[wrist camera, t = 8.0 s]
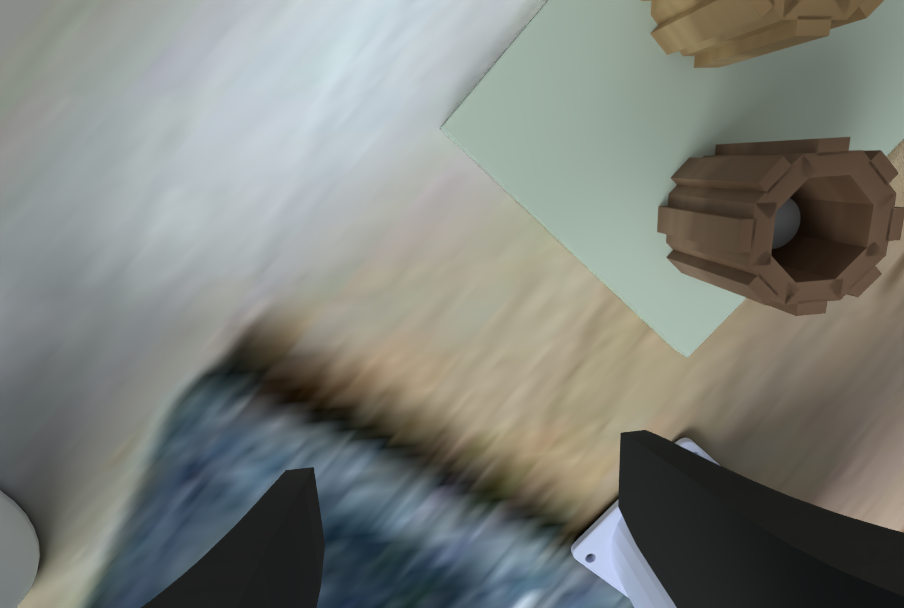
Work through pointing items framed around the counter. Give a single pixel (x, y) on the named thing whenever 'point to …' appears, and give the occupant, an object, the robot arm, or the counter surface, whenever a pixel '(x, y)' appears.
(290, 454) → the counter surface
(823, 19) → the oak cog
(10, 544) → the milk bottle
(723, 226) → the walnut cog
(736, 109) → the board
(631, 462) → the robot arm
